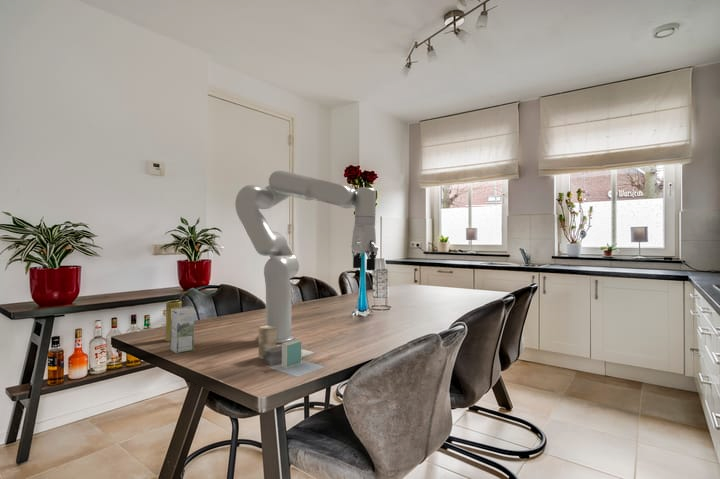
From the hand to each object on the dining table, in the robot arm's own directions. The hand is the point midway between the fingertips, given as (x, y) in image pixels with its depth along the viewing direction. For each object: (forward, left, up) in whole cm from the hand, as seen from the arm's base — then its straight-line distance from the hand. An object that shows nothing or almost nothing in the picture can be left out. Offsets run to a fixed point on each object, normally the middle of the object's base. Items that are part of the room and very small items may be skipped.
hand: (363, 269), depth 140 cm
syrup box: (-43, -45, -28) cm, 68 cm away
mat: (+1, -33, -27) cm, 43 cm away
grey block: (-11, -33, -27) cm, 44 cm away
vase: (-59, -40, -28) cm, 76 cm away
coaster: (-9, -23, -27) cm, 37 cm away
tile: (-2, -33, -27) cm, 43 cm away
